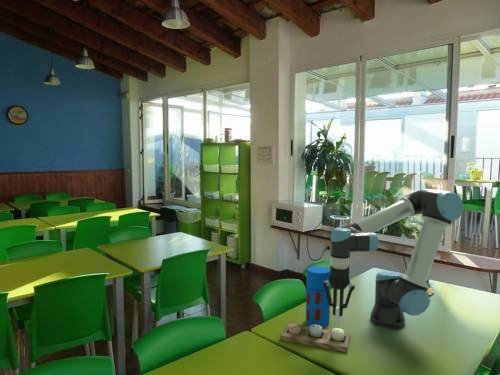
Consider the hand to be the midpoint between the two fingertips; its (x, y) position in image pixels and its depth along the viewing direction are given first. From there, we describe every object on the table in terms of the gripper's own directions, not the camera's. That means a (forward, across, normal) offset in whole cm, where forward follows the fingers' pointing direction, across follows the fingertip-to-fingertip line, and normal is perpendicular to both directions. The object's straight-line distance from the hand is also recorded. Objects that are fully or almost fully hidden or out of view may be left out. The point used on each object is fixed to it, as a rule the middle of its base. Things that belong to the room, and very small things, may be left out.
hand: (337, 323), depth 151 cm
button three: (+8, +18, 0) cm, 19 cm away
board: (+9, +9, 0) cm, 12 cm away
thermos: (+9, +11, -16) cm, 21 cm away
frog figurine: (+8, -39, -76) cm, 85 cm away
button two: (+7, +9, 0) cm, 11 cm away
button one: (+6, 0, 0) cm, 6 cm away
